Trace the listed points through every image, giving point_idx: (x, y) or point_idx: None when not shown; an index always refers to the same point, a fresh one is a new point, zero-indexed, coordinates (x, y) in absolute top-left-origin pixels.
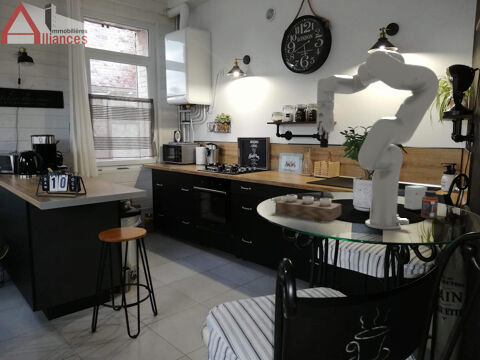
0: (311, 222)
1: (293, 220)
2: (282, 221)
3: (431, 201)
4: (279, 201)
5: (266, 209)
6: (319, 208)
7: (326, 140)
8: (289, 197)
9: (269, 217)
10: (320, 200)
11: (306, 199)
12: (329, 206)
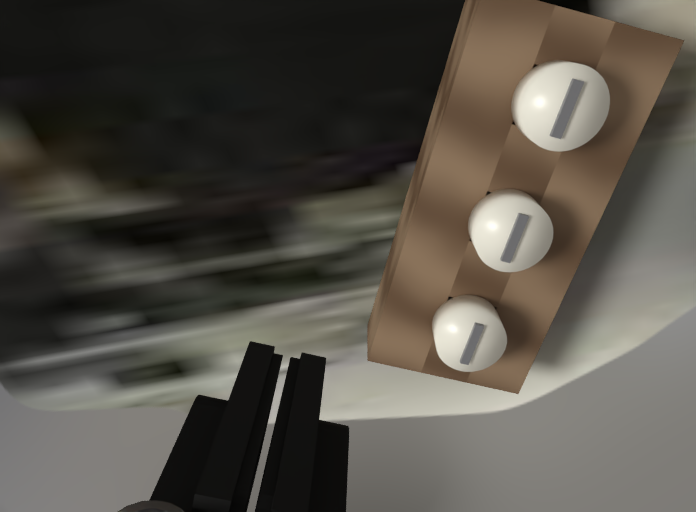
0: (690, 146)
1: (656, 243)
2: (685, 288)
3: None
4: (494, 379)
5: (430, 409)
6: (640, 128)
7: (306, 484)
8: (503, 345)
9: (608, 359)
10: (583, 141)
11: (549, 238)
12: (594, 67)
